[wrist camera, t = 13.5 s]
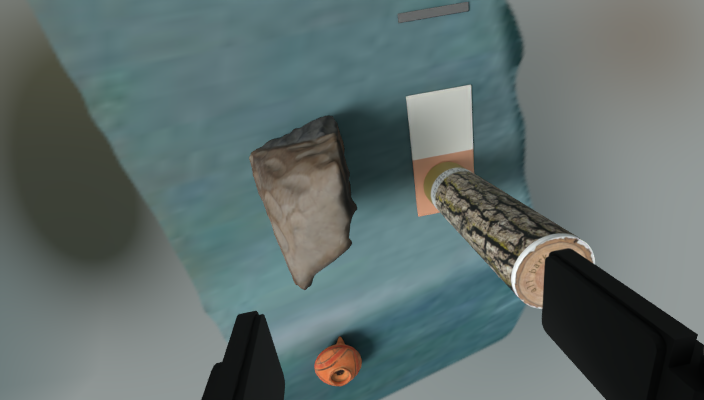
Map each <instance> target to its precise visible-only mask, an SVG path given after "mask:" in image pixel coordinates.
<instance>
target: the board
mask: <svg viewBox="0 0 704 400" xmlns="http://www.w3.org/2000/svg"><path fill="white" fill-rule="evenodd" d="M466 11H469V10H468V2H464V3H459V4H453V5H447V6H441V7H435V8H429V9H423V10H418V11H412V12H406V13H400V14H398V23H402V22H407V21H413V20H419V19H425V18H431V17H437V16H442V15H448V14H454V13H460V12H466ZM406 102H407V112H408V121H409V131H410V141H411V151H412V161H413V171H414V181H415V190H416V200H417V210H418V216H424V215H429V214H434V213H440V212H439V211H438V210H437V208H436V207H435V206H434V205H433V204H432V203H431V202H430V201H429V199H428V198H427V197H426V195H425V193H424V187H423V185H424V179H425V177H426V175H427V173H428V172H429V171H430V170H431V169H432V168H433V167H434V166H436V165H437V164H440V163H443V162H454V163H457V164H459V165H461V166H462V167H464V168H465V169H467V170H469V171H471V172H472V173H474V158H473V128H472V99H471V85H466V86H460V87H455V88H449V89H444V90H438V91H433V92H427V93H422V94H416V95H410V96H406Z"/></svg>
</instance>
